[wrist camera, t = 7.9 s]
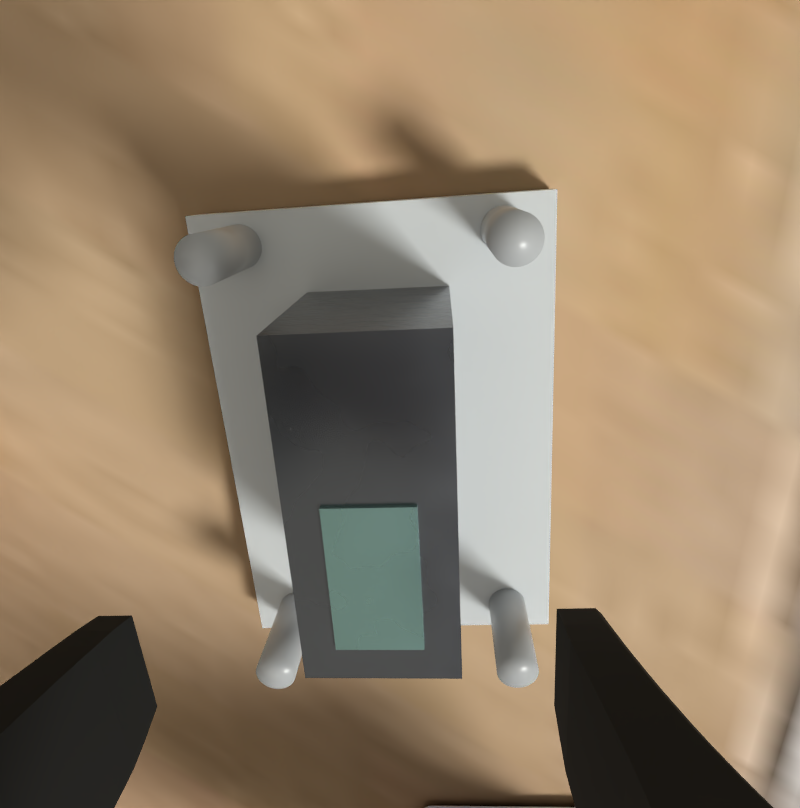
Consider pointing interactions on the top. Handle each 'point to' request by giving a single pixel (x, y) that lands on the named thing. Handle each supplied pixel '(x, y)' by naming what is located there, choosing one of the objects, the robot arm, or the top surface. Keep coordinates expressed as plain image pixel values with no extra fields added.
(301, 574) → the block
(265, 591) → the tray
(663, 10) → the top surface
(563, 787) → the top surface
